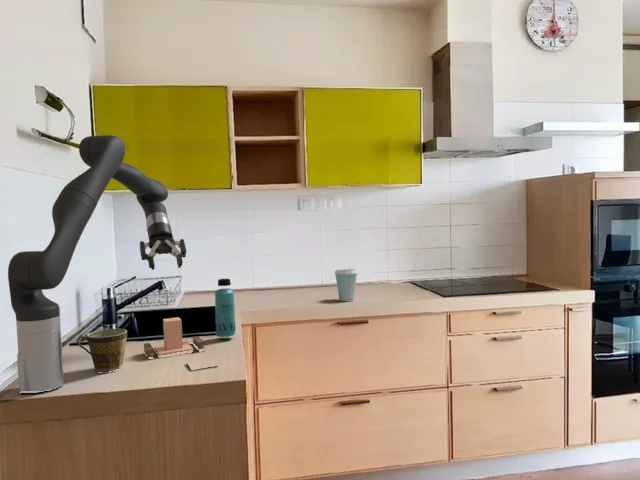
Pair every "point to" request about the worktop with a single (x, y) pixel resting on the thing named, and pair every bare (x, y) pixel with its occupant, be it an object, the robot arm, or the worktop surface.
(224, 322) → the beverage bottle
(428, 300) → the worktop surface
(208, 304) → the worktop surface
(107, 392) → the worktop surface
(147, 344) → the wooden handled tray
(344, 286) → the disposable coffee cup
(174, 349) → the footed block
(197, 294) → the worktop surface
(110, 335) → the ceramic cup
